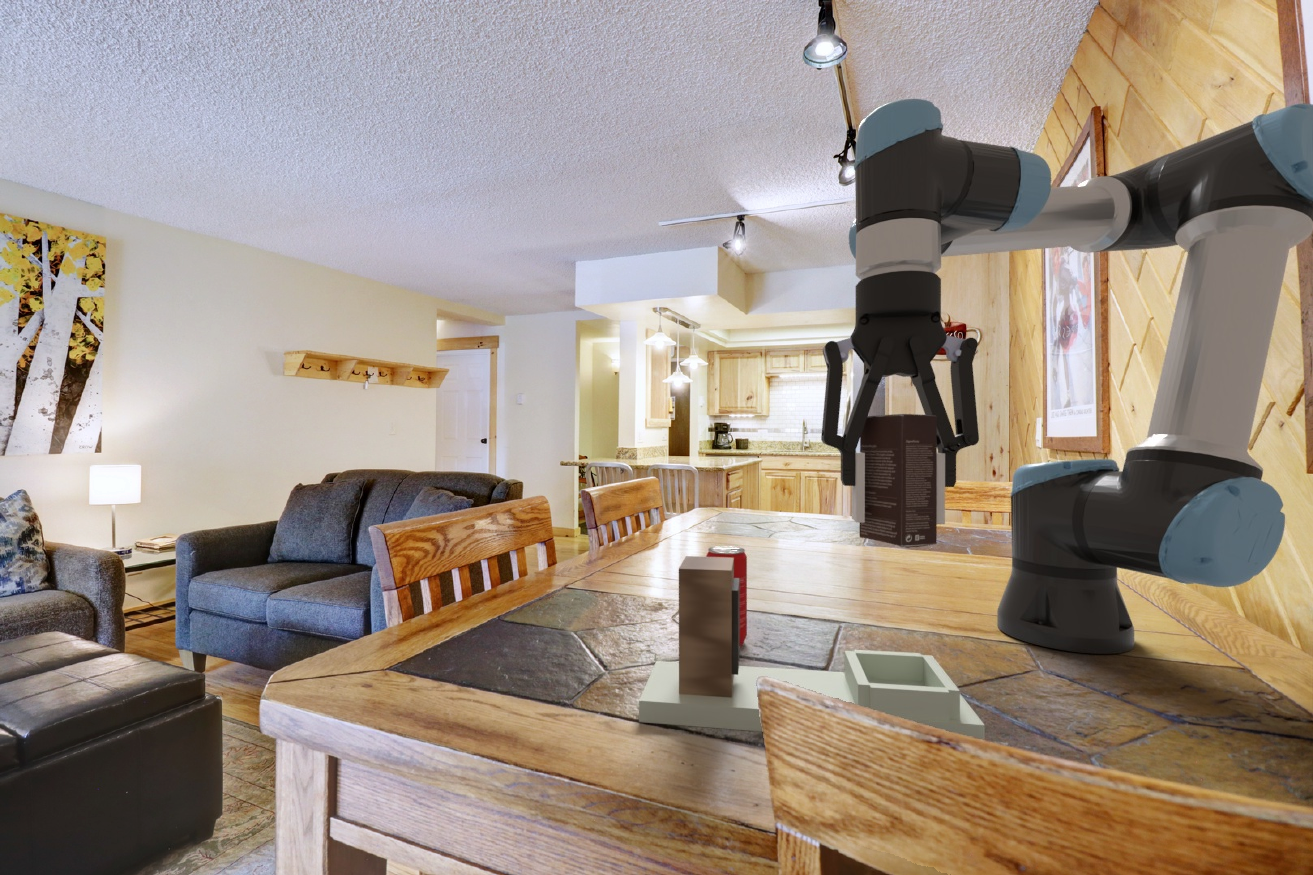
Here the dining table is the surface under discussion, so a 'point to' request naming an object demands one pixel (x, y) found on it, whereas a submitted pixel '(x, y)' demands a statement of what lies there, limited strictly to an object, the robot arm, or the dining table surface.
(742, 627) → the beverage can
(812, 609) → the dining table surface
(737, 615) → the brown tall rectangular block
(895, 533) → the box
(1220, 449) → the robot arm
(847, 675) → the pale green holder tray
